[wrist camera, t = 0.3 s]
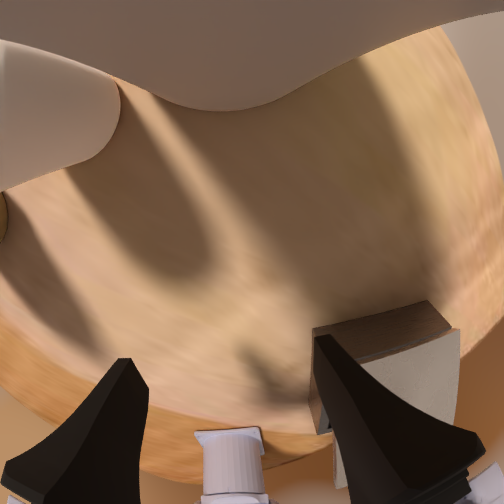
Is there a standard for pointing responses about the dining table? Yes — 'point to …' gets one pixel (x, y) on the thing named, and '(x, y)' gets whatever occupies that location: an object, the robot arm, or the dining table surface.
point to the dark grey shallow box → (375, 341)
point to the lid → (416, 380)
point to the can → (50, 112)
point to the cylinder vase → (222, 40)
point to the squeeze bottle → (3, 217)
